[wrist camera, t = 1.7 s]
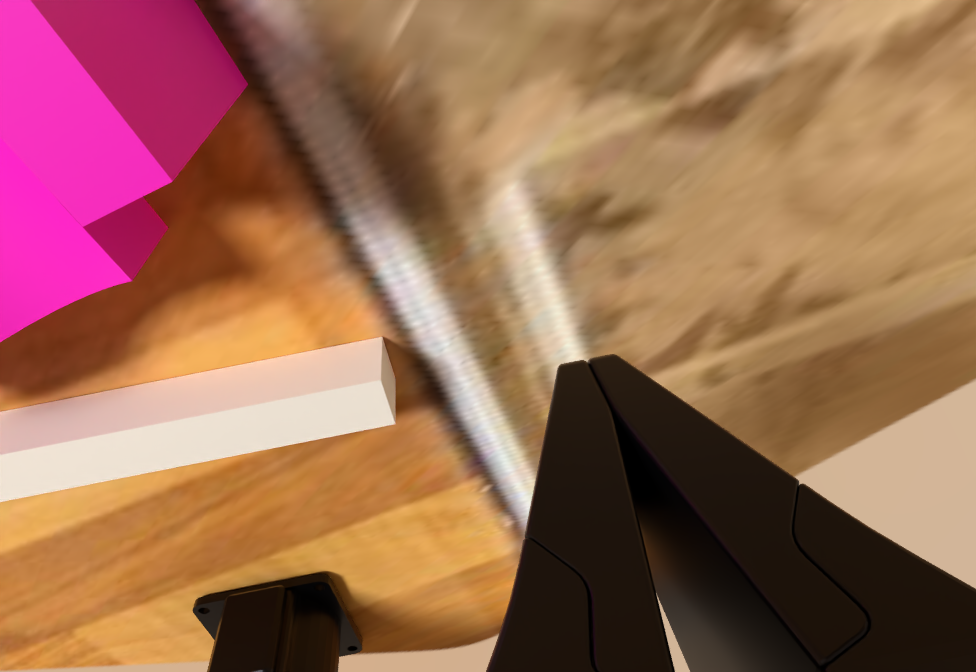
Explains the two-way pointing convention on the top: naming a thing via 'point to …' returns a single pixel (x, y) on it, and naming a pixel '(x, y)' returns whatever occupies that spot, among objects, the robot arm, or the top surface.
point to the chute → (196, 418)
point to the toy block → (96, 138)
